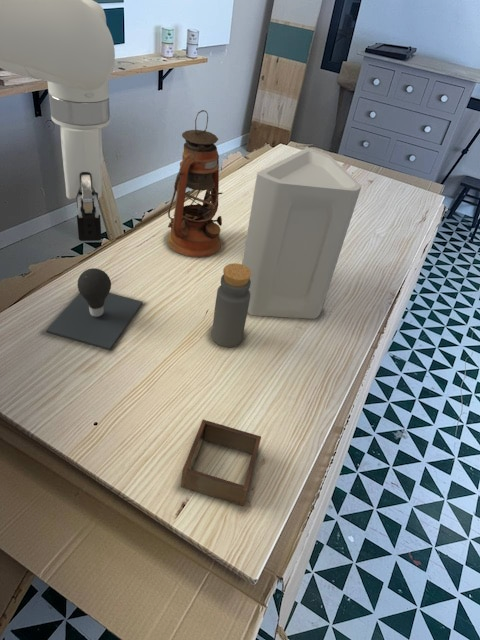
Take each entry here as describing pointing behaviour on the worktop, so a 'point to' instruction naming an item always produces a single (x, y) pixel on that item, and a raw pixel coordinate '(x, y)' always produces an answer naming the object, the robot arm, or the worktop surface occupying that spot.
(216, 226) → the lantern
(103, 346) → the mat
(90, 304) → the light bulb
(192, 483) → the crate
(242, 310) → the bottle
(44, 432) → the worktop surface
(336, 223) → the triangular concrete planter
